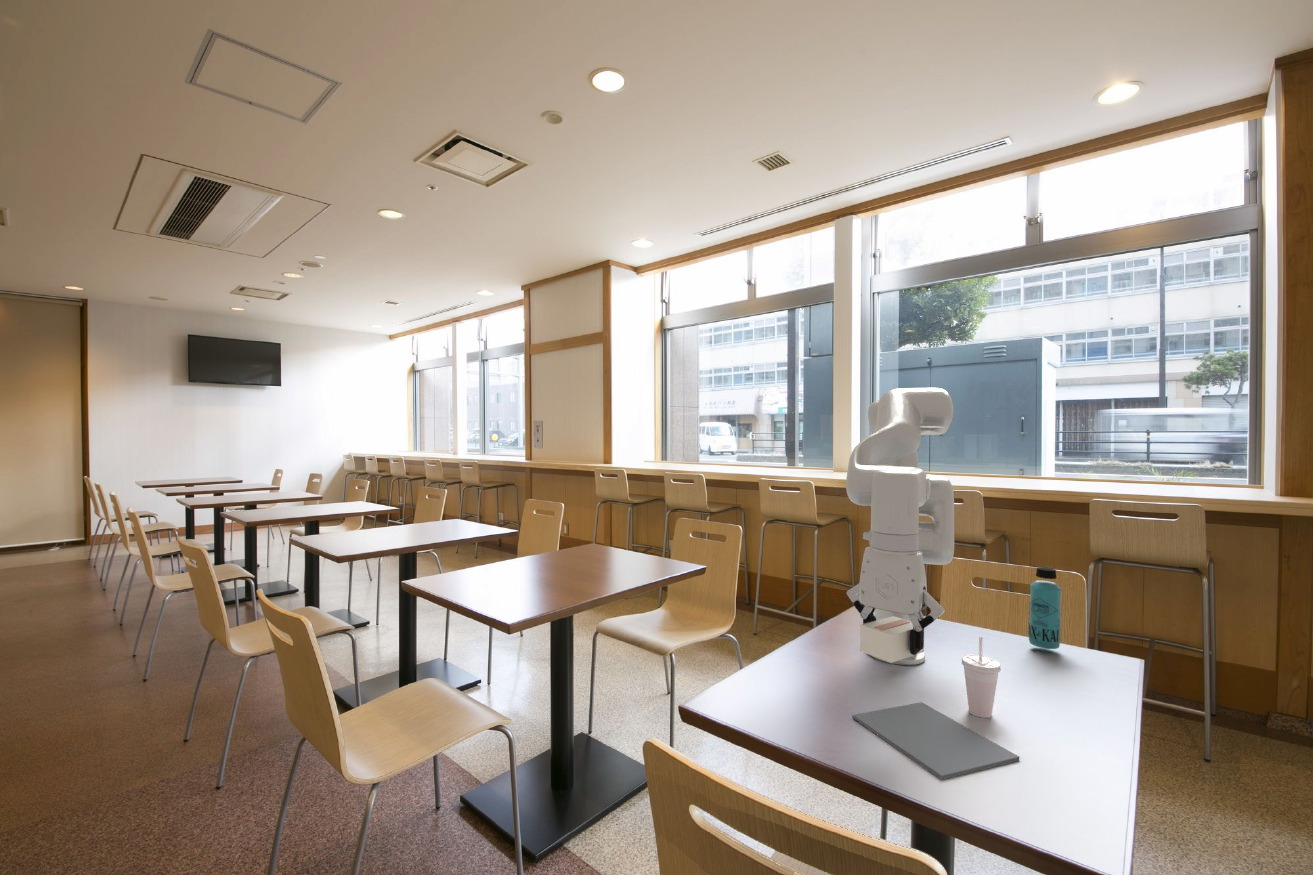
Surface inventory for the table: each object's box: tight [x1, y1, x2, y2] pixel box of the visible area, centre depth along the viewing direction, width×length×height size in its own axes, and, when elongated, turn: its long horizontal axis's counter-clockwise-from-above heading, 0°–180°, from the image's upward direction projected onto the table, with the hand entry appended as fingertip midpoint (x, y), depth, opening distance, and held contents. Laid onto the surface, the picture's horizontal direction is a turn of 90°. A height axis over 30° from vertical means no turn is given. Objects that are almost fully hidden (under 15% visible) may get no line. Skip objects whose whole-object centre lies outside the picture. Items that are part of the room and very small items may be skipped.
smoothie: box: [961, 635, 1002, 719], centre depth 109 cm, size 6×6×14 cm
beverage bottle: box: [1027, 566, 1062, 650], centre depth 142 cm, size 6×7×20 cm
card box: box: [859, 616, 925, 664], centre depth 100 cm, size 9×6×5 cm, turn 123°
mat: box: [852, 701, 1020, 780], centre depth 99 cm, size 20×16×1 cm
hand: (892, 645), depth 100 cm, fingers closed on card box, 7 cm apart
